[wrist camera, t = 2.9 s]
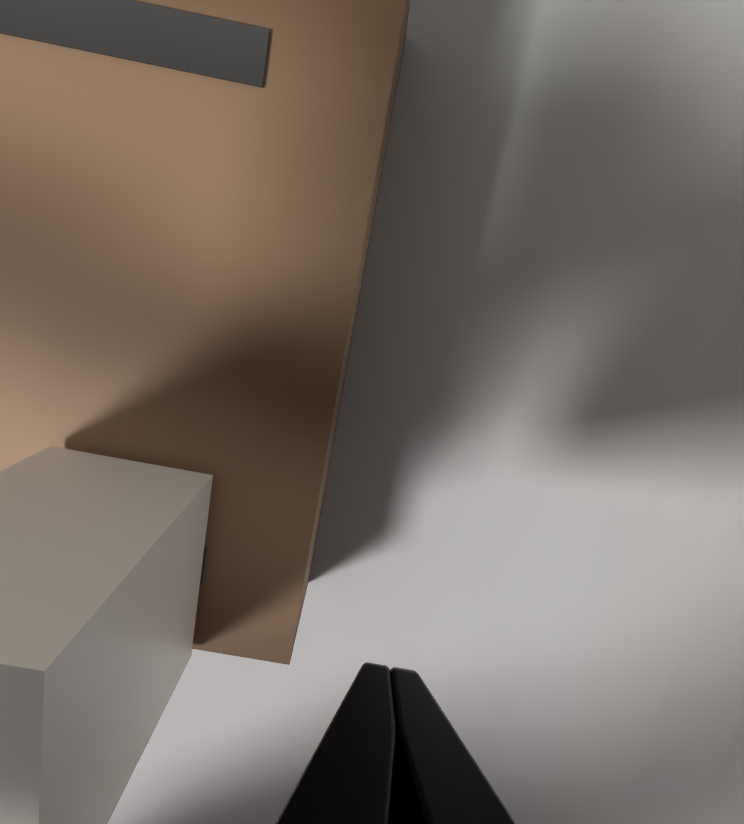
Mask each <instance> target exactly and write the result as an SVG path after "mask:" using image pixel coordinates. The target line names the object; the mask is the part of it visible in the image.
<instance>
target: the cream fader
mask: <svg viewBox="0 0 744 824" xmlns="http://www.w3.org/2000/svg"><path fill="white" fill-rule="evenodd" d="M212 480H213V475H210V474H204V473H199V472H193V471H187V470H182V469H176V468H171V467H165V466H159V465H154V464H148V463H143V462H137V461H131V460H126V459H120V458H115V457H109V456H103V455H98V454H92V453H87V452H81V451H75V450H70V449H64V448H59V447H53V446H50V447H48V448H46V449H44V450H42V451H40V452H38V453H36V454H34V455H32V456H30V457H28V458H26V459H24V460H22V461H20V462H18V463H16V464H14V465H12V466H10V467H8V468H6V469H4V470H2V471H0V824H107V823H108V821H109V819H110V817H111V815H112V813H113V811H114V809H115V807H116V805H117V803H118V801H119V799H120V797H121V795H122V793H123V791H124V789H125V787H126V785H127V783H128V781H129V779H130V777H131V775H132V773H133V771H134V769H135V767H136V765H137V763H138V761H139V759H140V757H141V755H142V753H143V751H144V749H145V747H146V745H147V743H148V741H149V739H150V737H151V735H152V733H153V731H154V729H155V727H156V725H157V723H158V721H159V719H160V717H161V715H162V713H163V711H164V709H165V707H166V705H167V703H168V701H169V699H170V697H171V695H172V693H173V691H174V689H175V687H176V685H177V683H178V681H179V679H180V677H181V675H182V673H183V671H184V669H185V667H186V665H187V663H188V661H189V659H190V657H191V653H192V645H193V636H194V628H195V620H196V612H197V603H198V595H199V587H200V579H201V570H202V562H203V554H204V546H205V537H206V529H207V521H208V513H209V504H210V496H211V488H212Z"/></svg>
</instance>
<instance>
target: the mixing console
mask: <svg viewBox="0 0 744 824" xmlns="http://www.w3.org/2000/svg"><path fill="white" fill-rule="evenodd" d="M409 4H410V0H0V471H2V470H4V469H6V468H8V467H10V466H12V465H14V464H16V463H18V462H20V461H22V460H24V459H26V458H28V457H30V456H32V455H34V454H36V453H38V452H40V451H42V450H44V449H46V448H48V447H50V446H53V447H59V448H64V449H70V450H75V451H81V452H87V453H92V454H98V455H103V456H109V457H115V458H120V459H126V460H131V461H137V462H143V463H148V464H154V465H159V466H165V467H171V468H176V469H182V470H187V471H193V472H199V473H204V474H210V475H213V480H212V488H211V496H210V504H209V513H208V521H207V529H206V537H205V546H204V554H203V562H202V570H201V579H200V587H199V595H198V603H197V612H196V620H195V628H194V636H193V645H192V649H198V650H204V651H210V652H216V653H222V654H228V655H234V656H240V657H246V658H252V659H258V660H264V661H270V662H276V663H282V664H288V665H289V664H290V660H291V655H292V651H293V646H294V642H295V638H296V633H297V629H298V625H299V620H300V616H301V611H302V607H303V603H304V598H305V594H306V590H307V585H308V580H309V574H310V569H311V563H312V558H313V552H314V546H315V541H316V535H317V530H318V524H319V518H320V513H321V507H322V502H323V496H324V490H325V485H326V479H327V474H328V468H329V462H330V457H331V451H332V446H333V440H334V434H335V429H336V423H337V418H338V412H339V406H340V401H341V395H342V389H343V384H344V378H345V373H346V367H347V361H348V356H349V350H350V345H351V339H352V333H353V328H354V322H355V317H356V311H357V305H358V300H359V294H360V289H361V283H362V277H363V272H364V266H365V261H366V255H367V249H368V244H369V238H370V233H371V227H372V221H373V216H374V210H375V205H376V199H377V193H378V188H379V182H380V176H381V171H382V165H383V160H384V154H385V148H386V143H387V137H388V132H389V126H390V120H391V115H392V109H393V104H394V98H395V92H396V87H397V81H398V76H399V70H400V64H401V59H402V53H403V48H404V42H405V36H406V29H407V21H408V12H409Z"/></svg>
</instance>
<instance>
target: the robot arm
mask: <svg viewBox="0 0 744 824" xmlns="http://www.w3.org/2000/svg"><path fill="white" fill-rule="evenodd" d="M276 824H516V823H515V822H514V820H513V819H512V817H511V816H510V814H509V813H508V811H507V810H506V808H505V807H504V805H503V803H502V802H501V800H500V799H499V797H498V796H497V794H496V793H495V791H494V790H493V788H492V787H491V785H490V783H489V782H488V780H487V779H486V777H485V776H484V774H483V773H482V771H481V770H480V768H479V766H478V765H477V763H476V762H475V760H474V759H473V757H472V756H471V754H470V753H469V751H468V750H467V748H466V746H465V745H464V743H463V742H462V740H461V739H460V737H459V736H458V734H457V733H456V731H455V730H454V728H453V726H452V725H451V723H450V722H449V720H448V719H447V717H446V716H445V714H444V713H443V711H442V710H441V708H440V706H439V705H438V703H437V702H436V700H435V699H434V697H433V696H432V694H431V693H430V691H429V690H428V688H427V686H426V685H425V683H424V682H423V680H422V679H421V677H420V676H419V674H418V673H417V672H416V671H413V670H408V669H402V668H396V667H393V668H391V670H390V669H389V668H388V667H387V666H385V665H379V664H373V663H364V664H363V665H362V667H361V669H360V670H359V672H358V674H357V676H356V678H355V680H354V681H353V683H352V685H351V687H350V689H349V691H348V692H347V694H346V696H345V698H344V700H343V701H342V703H341V705H340V707H339V709H338V711H337V712H336V714H335V716H334V718H333V720H332V722H331V723H330V725H329V727H328V729H327V731H326V732H325V734H324V736H323V738H322V740H321V742H320V743H319V745H318V747H317V749H316V751H315V752H314V754H313V756H312V758H311V760H310V762H309V763H308V765H307V767H306V769H305V771H304V773H303V774H302V776H301V778H300V780H299V782H298V783H297V785H296V787H295V789H294V791H293V793H292V794H291V796H290V798H289V800H288V802H287V804H286V805H285V807H284V809H283V811H282V813H281V814H280V816H279V818H278V820H277V822H276Z"/></svg>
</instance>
